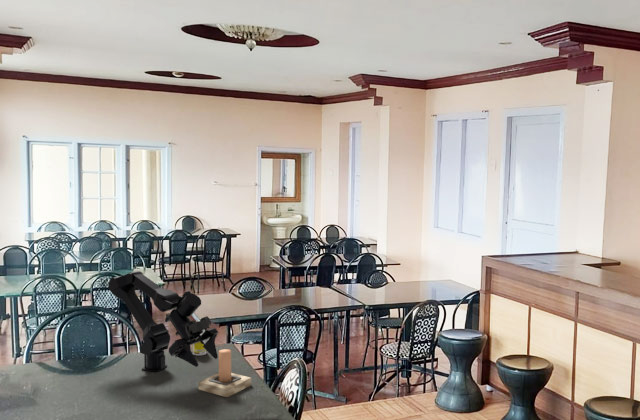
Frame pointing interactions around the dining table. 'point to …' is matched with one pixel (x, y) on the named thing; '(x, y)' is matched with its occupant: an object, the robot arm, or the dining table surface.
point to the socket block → (225, 385)
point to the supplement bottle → (199, 348)
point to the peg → (225, 365)
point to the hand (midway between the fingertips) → (207, 362)
